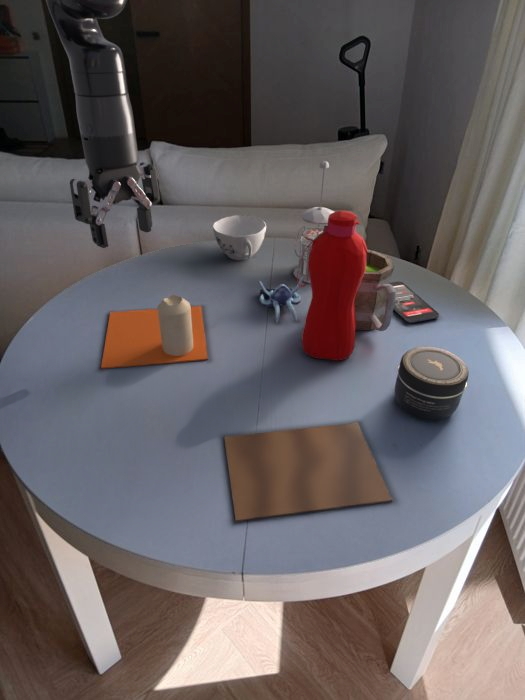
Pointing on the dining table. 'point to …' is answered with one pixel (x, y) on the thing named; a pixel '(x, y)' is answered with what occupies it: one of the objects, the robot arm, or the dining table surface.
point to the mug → (375, 294)
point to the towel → (146, 339)
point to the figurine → (280, 298)
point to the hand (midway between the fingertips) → (124, 238)
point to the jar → (430, 383)
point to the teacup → (239, 235)
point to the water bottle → (334, 288)
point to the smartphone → (411, 304)
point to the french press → (311, 232)
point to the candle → (175, 326)
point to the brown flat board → (302, 471)
